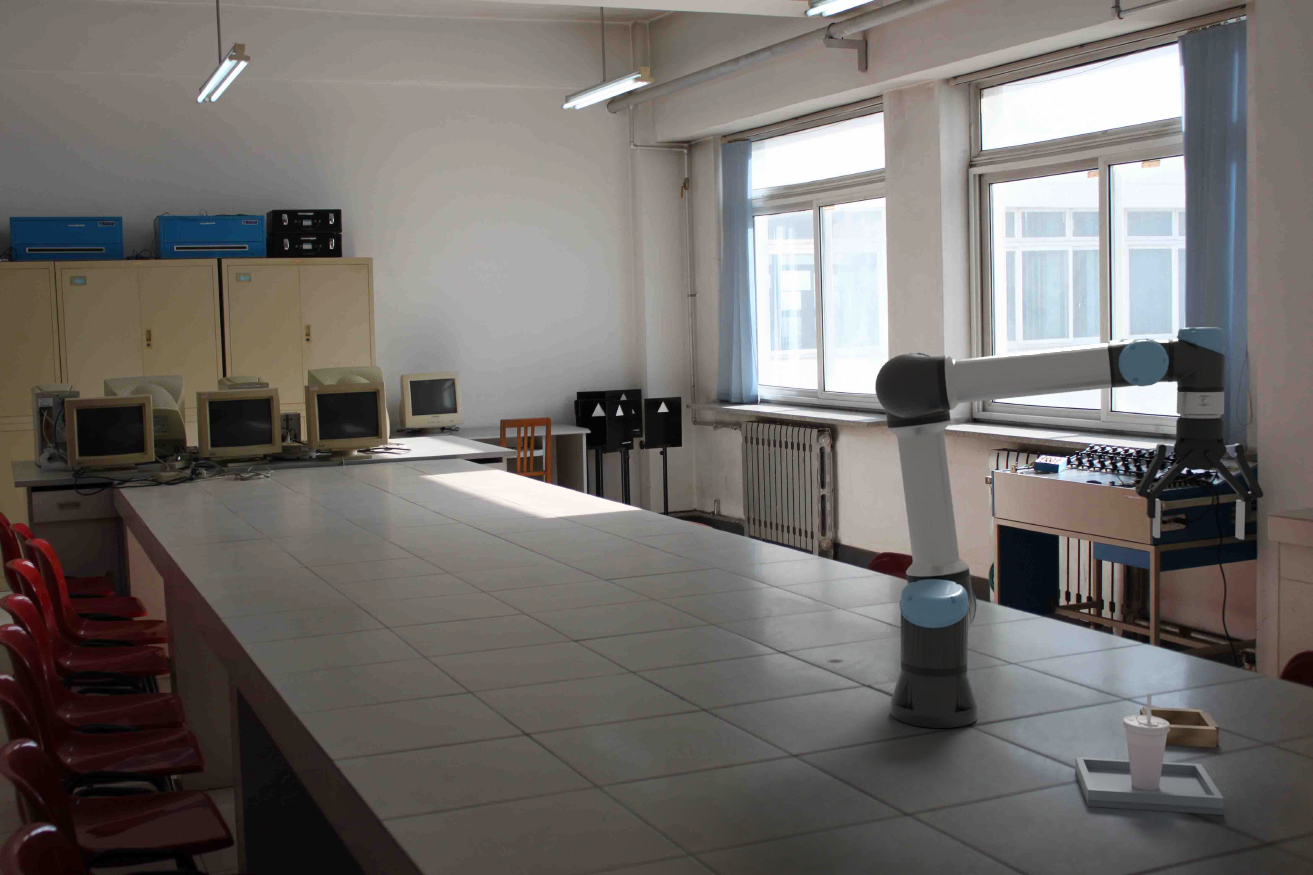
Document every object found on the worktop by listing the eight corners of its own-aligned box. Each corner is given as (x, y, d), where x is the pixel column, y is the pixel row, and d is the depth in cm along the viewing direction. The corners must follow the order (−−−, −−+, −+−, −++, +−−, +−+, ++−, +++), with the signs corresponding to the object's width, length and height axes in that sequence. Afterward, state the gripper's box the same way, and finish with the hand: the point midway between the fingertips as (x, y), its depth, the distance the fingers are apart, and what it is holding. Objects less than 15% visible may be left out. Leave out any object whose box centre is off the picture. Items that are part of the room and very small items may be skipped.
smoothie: (1140, 795, 172) (1142, 700, 170) (1112, 780, 178) (1113, 688, 177) (1178, 790, 173) (1180, 696, 172) (1149, 775, 179) (1150, 684, 178)
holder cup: (1149, 743, 197) (1150, 725, 196) (1138, 723, 207) (1138, 706, 207) (1220, 747, 194) (1221, 729, 194) (1205, 726, 205) (1205, 709, 205)
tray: (1087, 805, 171) (1087, 789, 170) (1075, 771, 184) (1075, 756, 184) (1223, 814, 167) (1223, 798, 167) (1200, 779, 180) (1200, 763, 180)
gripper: (1127, 417, 206) (1125, 539, 208) (1284, 417, 201) (1281, 542, 202) (1120, 415, 214) (1118, 532, 215) (1272, 414, 208) (1269, 535, 210)
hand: (1197, 537), depth 209 cm, fingers open, 13 cm apart
